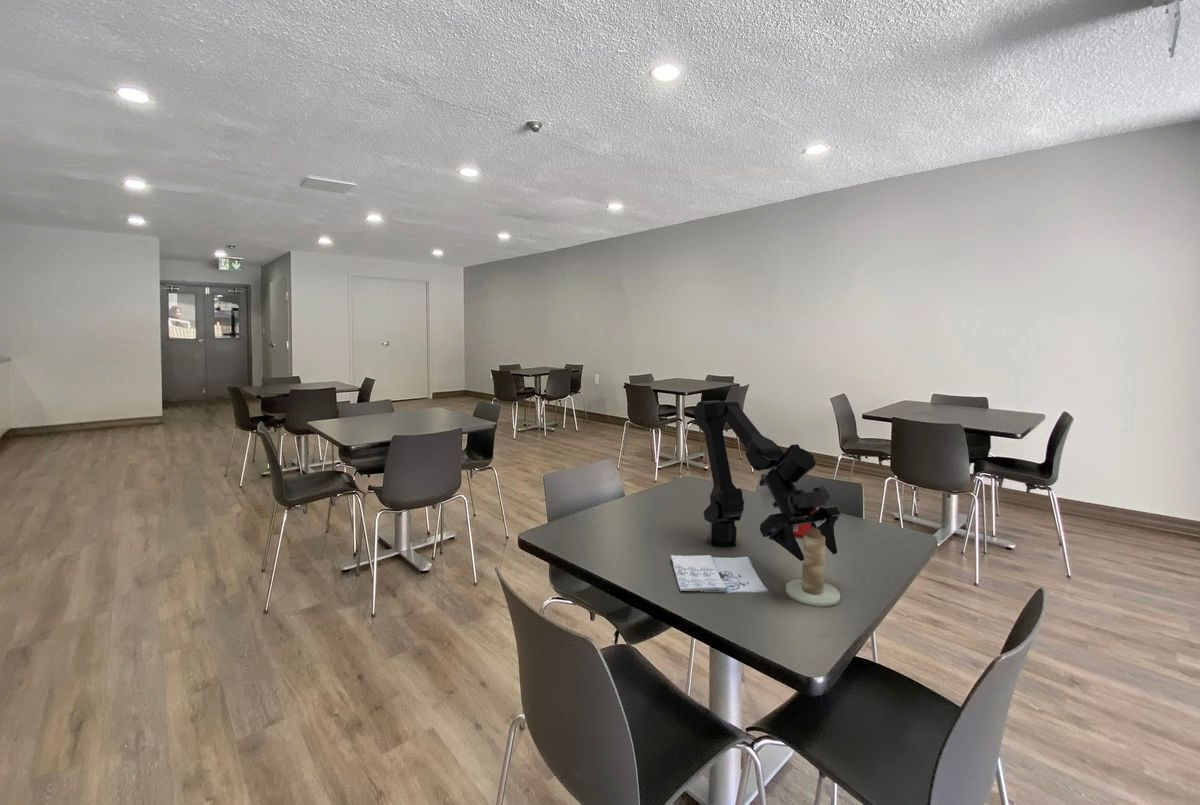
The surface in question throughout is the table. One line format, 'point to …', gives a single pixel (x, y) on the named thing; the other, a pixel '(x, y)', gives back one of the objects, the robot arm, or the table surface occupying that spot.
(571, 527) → the table surface
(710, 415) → the robot arm
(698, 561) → the open notebook
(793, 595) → the disc
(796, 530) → the canned food
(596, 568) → the table surface
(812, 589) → the pepper mill
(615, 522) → the table surface
